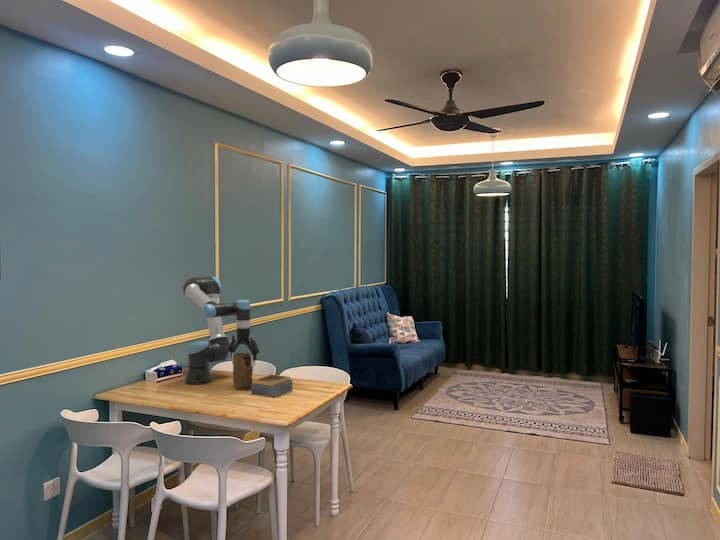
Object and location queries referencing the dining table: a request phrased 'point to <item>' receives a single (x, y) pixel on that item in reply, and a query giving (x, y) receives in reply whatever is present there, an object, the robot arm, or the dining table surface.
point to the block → (242, 371)
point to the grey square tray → (271, 385)
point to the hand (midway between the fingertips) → (243, 365)
